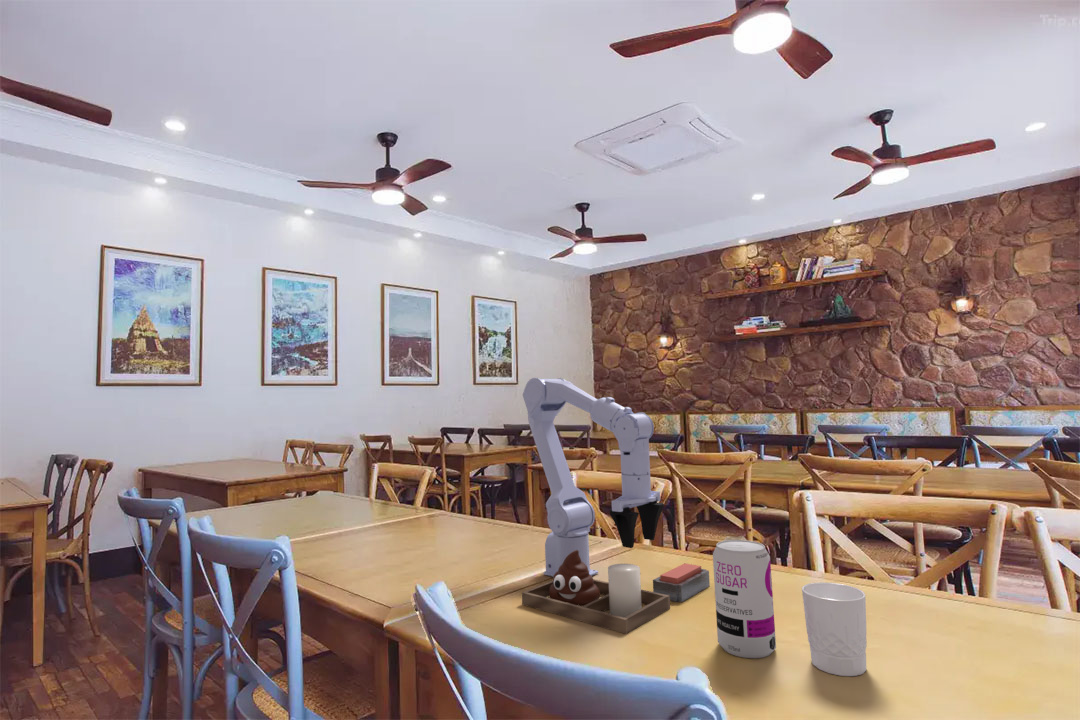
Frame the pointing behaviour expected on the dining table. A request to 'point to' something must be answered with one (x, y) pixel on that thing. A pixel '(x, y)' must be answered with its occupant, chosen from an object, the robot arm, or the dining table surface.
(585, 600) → the poop emoji
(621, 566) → the wax pillar
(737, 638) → the supplement can
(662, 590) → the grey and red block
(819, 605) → the white cup
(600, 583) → the divided tray
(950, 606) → the dining table surface
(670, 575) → the bar
